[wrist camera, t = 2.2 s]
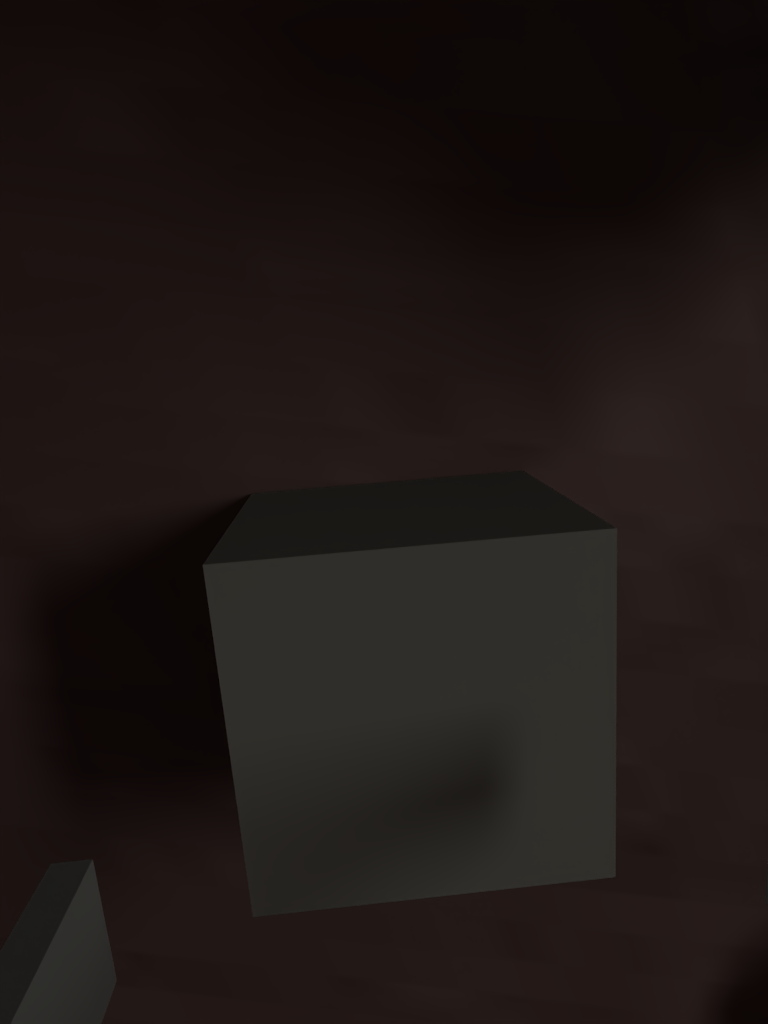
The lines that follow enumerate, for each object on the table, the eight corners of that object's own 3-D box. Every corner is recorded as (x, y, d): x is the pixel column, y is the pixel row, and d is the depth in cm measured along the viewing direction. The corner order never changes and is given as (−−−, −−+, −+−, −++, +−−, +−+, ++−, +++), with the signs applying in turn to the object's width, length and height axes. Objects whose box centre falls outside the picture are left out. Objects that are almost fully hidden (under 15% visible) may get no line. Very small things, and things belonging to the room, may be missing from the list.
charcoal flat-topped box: (251, 493, 25) (202, 564, 16) (523, 470, 25) (616, 528, 16) (281, 739, 27) (252, 917, 18) (530, 715, 27) (615, 876, 19)
